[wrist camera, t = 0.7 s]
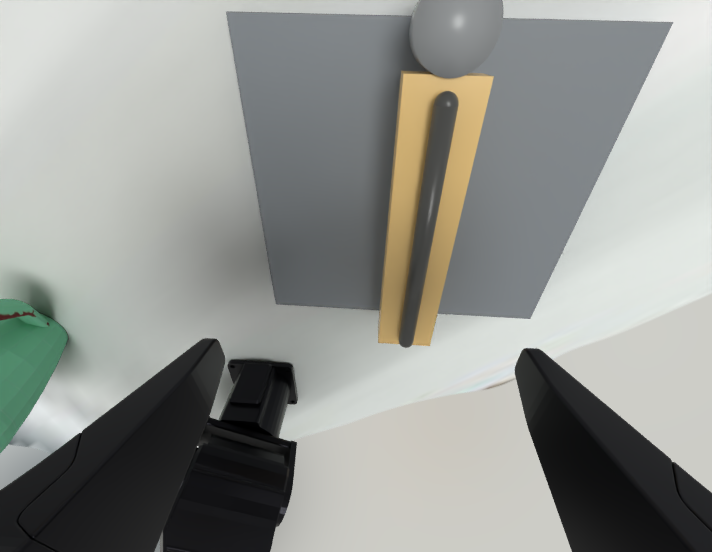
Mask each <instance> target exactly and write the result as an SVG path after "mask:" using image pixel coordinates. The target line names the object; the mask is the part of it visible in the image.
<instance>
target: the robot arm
mask: <svg viewBox="0 0 712 552" xmlns="http://www.w3.org/2000/svg"><path fill="white" fill-rule="evenodd" d="M224 364H225V356H224V353H223V350H222V348H221V345H220V343H219V341H218V340H217V339H211V338H205V339H202V340H200V341H199V342H198V343H196V344H195V345H194V346H192V347H191V348H190V349H189V350H187V351H186V352H185V353H183V354H182V355H181V356H179V357H178V358H177V359H175V360H174V361H173V362H172V363H170V364H169V365H168V366H166V367H165V368H164V369H162V370H161V371H160V372H158V373H157V374H156V375H155V376H153V377H152V378H151V379H149V380H148V381H147V382H145V383H144V384H143V385H142V386H140V387H139V388H138V389H136V390H135V391H134V392H132V393H131V394H130V395H128V396H127V397H126V398H125V399H123V400H122V401H121V402H119V403H118V404H117V405H115V406H114V407H113V408H111V409H110V410H109V411H108V412H106V413H105V414H104V415H102V416H101V417H100V418H98V419H97V420H96V421H94V422H93V423H92V424H91V425H89V426H88V427H87V428H85V429H84V430H83V431H82V433H79V434H77V435H76V436H75V437H73V438H72V439H71V440H70V441H68V442H67V443H66V444H64V445H63V446H62V447H60V448H59V449H58V450H56V451H55V452H54V453H52V454H51V455H50V456H48V457H47V458H45V459H44V460H43V461H41V462H40V463H39V464H37V465H36V466H34V467H33V468H32V469H30V470H29V471H27V472H26V473H25V474H23V475H22V476H20V477H19V478H17V479H16V480H14V481H13V482H12V483H10V484H9V485H7V486H6V487H4V488H3V489H1V490H0V552H154V551H155V548H156V546H157V543H158V541H159V539H160V552H270V550H271V546H272V541H273V536H274V532H275V528H276V527H277V526H279V525H280V523H281V522H282V520H283V518H284V515H285V513H286V510H287V507H288V504H289V500H290V496H291V492H292V486H293V477H294V466H295V455H296V445H297V442H294V441H287V440H284V439H280V438H279V434H280V430H281V426H282V423H283V419H284V415H285V411H286V407H287V404H296V403H297V400H298V397H297V390H296V384H295V377H294V370H293V366H292V365H290V364H284V363H269V362H253V361H238V360H231V361H229V363H228V369H229V372H230V375H231V378H232V381H233V383H234V385H233V388H232V390H231V392H230V395H229V397H228V399H227V402H226V404H225V406H224V409H223V411H222V413H221V416H220V418H219V420H216V419H213V418H210V416H209V415H210V412H211V409H212V406H213V403H214V399H215V396H216V392H217V389H218V385H219V382H220V378H221V375H222V371H223V368H224ZM515 376H516V380H517V384H518V388H519V393H520V397H521V401H522V405H523V410H524V414H525V418H526V421H527V425H528V429H529V432H530V435H531V437H532V440H533V443H534V446H535V449H536V452H537V454H538V457H539V460H540V463H541V466H542V468H543V471H544V474H545V477H546V480H547V482H548V485H549V488H550V490H551V494H552V497H553V499H554V502H555V505H556V508H557V511H558V513H559V516H560V519H561V522H562V524H563V527H564V530H565V533H566V536H567V539H568V541H569V544H570V547H571V549H572V552H712V493H711V492H710V491H709V490H707V489H706V488H705V487H704V486H702V485H701V484H700V483H699V482H698V481H696V480H695V479H694V478H693V477H692V476H690V475H689V474H688V473H687V472H686V471H684V470H683V469H682V468H681V467H679V465H677V464H676V463H675V462H672V461H671V459H670V458H669V457H668V456H666V455H665V454H664V453H663V452H662V451H660V450H659V449H658V448H657V447H656V446H655V445H653V444H652V443H651V442H650V441H649V440H647V439H646V438H645V437H644V436H643V435H641V434H640V433H639V432H638V431H637V430H635V429H634V428H633V427H632V426H631V425H630V424H628V423H627V422H626V421H625V420H624V419H622V418H621V417H620V416H619V415H618V414H616V413H615V412H614V411H613V410H612V409H611V408H609V407H608V406H607V405H606V404H605V403H603V402H602V401H601V400H600V399H598V398H597V397H596V396H595V395H594V394H593V393H591V392H590V391H589V390H588V389H587V388H586V387H584V386H583V385H582V384H581V383H580V382H578V381H577V380H576V379H575V378H574V377H572V376H571V375H570V374H569V373H568V372H566V371H565V370H564V369H563V368H562V367H560V366H559V365H558V364H557V363H556V362H555V361H553V360H552V359H551V358H550V357H549V356H547V355H546V354H545V353H544V352H543V351H541V350H540V349H533V348H525V349H523V350H522V352H521V354H520V357H519V359H518V361H517V363H516V366H515ZM197 446H199V448H197Z"/></svg>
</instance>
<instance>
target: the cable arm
mask: <svg viewBox="0 0 712 552" xmlns="http://www.w3.org/2000/svg"><path fill="white" fill-rule="evenodd" d="M502 23H503V2H502V0H419V2H418V3H417V5H416V7H415V9H414V12H413V14H412V18H411V22H410V28H409V41H410V47H411V50H412V53H413V55H414V57H415V59H416V61H417V62H418V63H419V64H420V65H421V66H422V67H423V68H424V69H426V70H427V71H429V72H427V71H401V78H400V89H399V100H398V111H397V123H396V134H395V145H394V156H393V167H392V178H391V189H390V200H389V212H388V223H387V234H386V245H385V256H384V267H383V278H382V289H381V301H380V312H379V323H378V343H390V344H400V345H401V346H402V347H405V348H407V347H410V346H411V345H423V346H430V342H431V338H432V334H433V330H434V326H435V321H436V317H437V313H438V309H439V305H440V300H441V296H442V292H443V288H444V284H445V279H446V275H447V271H448V267H449V263H450V258H451V254H452V250H453V246H454V242H455V237H456V233H457V229H458V225H459V221H460V217H461V212H462V208H463V204H464V200H465V196H466V191H467V187H468V183H469V179H470V175H471V170H472V166H473V162H474V158H475V154H476V149H477V145H478V141H479V137H480V133H481V128H482V124H483V120H484V116H485V112H486V108H487V103H488V99H489V95H490V91H491V87H492V82H493V78H494V76H490V75H487V74H483V73H471V72H472V71H474V70H475V69H477V68H478V67H479V66H480V65H481V64H482V63H483V62H484V61H485V60H486V59H487V58H488V56H489V55H490V54H491V52H492V50H493V49H494V47H495V45H496V43H497V41H498V38H499V35H500V32H501V28H502Z"/></svg>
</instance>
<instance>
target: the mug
mask: <svg viewBox="0 0 712 552" xmlns="http://www.w3.org/2000/svg"><path fill="white" fill-rule="evenodd" d="M67 340H68V335H67V333H66V331H65V330H64V328H63V327H62V326H61V325H59V324H58V323H57V322H56V321H54V320H53V319H51V318H49V317H47V316H45V315H43V314H41V313H38V312H37V311H36V310H35V309H33V308H32V307H31V306H30V305H28V304H26V303H24V302H21V301H18V300H14V299H0V453H1V452H2V451H3V450H4V449H5V448H6V446H7V445H8V444H9V443H10V441H11V440H12V438H13V437H14V435H15V434H16V432H17V431H18V429H19V428H20V426H21V425H22V424H23V422H24V421H25V419H26V418H27V416H28V415H29V413H30V412H31V410H32V409H33V407H34V405H35V404H36V402H37V400H38V399H39V397H40V395H41V394H42V392H43V390H44V389H45V387H46V385H47V383H48V381H49V379H50V377H51V375H52V373H53V372H54V370H55V368H56V366H57V364H58V362H59V359H60V357H61V355H62V352H63V350H64V347H65V345H66V343H67Z"/></svg>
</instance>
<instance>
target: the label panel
mask: <svg viewBox="0 0 712 552" xmlns="http://www.w3.org/2000/svg"><path fill="white" fill-rule="evenodd" d="M226 14H227V20H228V26H229V32H230V37H231V43H232V49H233V55H234V61H235V67H236V73H237V78H238V84H239V90H240V96H241V102H242V108H243V114H244V119H245V125H246V131H247V137H248V143H249V149H250V155H251V160H252V166H253V172H254V178H255V184H256V190H257V196H258V201H259V207H260V213H261V219H262V225H263V231H264V237H265V242H266V248H267V254H268V260H269V266H270V272H271V278H272V283H273V289H274V295H275V301H276V304H282V305H299V306H316V307H333V308H351V309H368V310H380V301H381V289H382V278H383V267H384V256H385V245H386V234H387V223H388V212H389V200H390V189H391V178H392V167H393V156H394V145H395V134H396V123H397V111H398V100H399V89H400V78H401V71H427V70H426V69H424V68H423V67H422V66H421V65H420V64H419V63H418V62H417V61H416V59H415V57H414V55H413V53H412V50H411V47H410V41H409V28H410V22H411V18H412V16H391V15H350V14H308V13H267V12H226ZM672 24H673V22H641V21H599V20H557V19H516V18H503V23H502V28H501V32H500V35H499V38H498V41H497V43H496V45H495V47H494V49H493V50H492V52H491V54H490V55H489V56H488V58H487V59H486V60H485V61H484V62H483V63H482V64H481V65H480V66H479V67H478V68H477V69H475V70H474V71H472V72H471V73H483V74H487V75H490V76H494V78H493V82H492V87H491V91H490V95H489V99H488V103H487V108H486V112H485V116H484V120H483V124H482V128H481V133H480V137H479V141H478V145H477V149H476V154H475V158H474V162H473V166H472V170H471V175H470V179H469V183H468V187H467V191H466V196H465V200H464V204H463V208H462V212H461V217H460V221H459V225H458V229H457V233H456V237H455V242H454V246H453V250H452V254H451V258H450V263H449V267H448V271H447V275H446V279H445V284H444V288H443V292H442V296H441V300H440V305H439V309H438V313H437V314H455V315H472V316H489V317H507V318H524V319H530V318H531V316H532V314H533V312H534V310H535V308H536V306H537V303H538V301H539V299H540V297H541V295H542V293H543V291H544V289H545V287H546V285H547V283H548V281H549V279H550V277H551V274H552V272H553V270H554V268H555V266H556V264H557V262H558V260H559V258H560V256H561V254H562V252H563V250H564V248H565V245H566V243H567V241H568V239H569V237H570V235H571V233H572V231H573V229H574V227H575V225H576V223H577V221H578V219H579V216H580V214H581V212H582V210H583V208H584V206H585V204H586V202H587V200H588V198H589V196H590V194H591V192H592V190H593V187H594V185H595V183H596V181H597V179H598V177H599V175H600V173H601V171H602V169H603V167H604V165H605V163H606V161H607V158H608V156H609V154H610V152H611V150H612V148H613V146H614V144H615V142H616V140H617V138H618V136H619V134H620V132H621V129H622V127H623V125H624V123H625V121H626V119H627V117H628V115H629V113H630V111H631V109H632V107H633V105H634V103H635V100H636V98H637V96H638V94H639V92H640V90H641V88H642V86H643V84H644V82H645V80H646V78H647V76H648V74H649V71H650V69H651V67H652V65H653V63H654V61H655V59H656V57H657V55H658V53H659V51H660V49H661V47H662V44H663V42H664V40H665V38H666V36H667V34H668V32H669V30H670V28H671V26H672ZM427 72H429V71H427Z"/></svg>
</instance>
